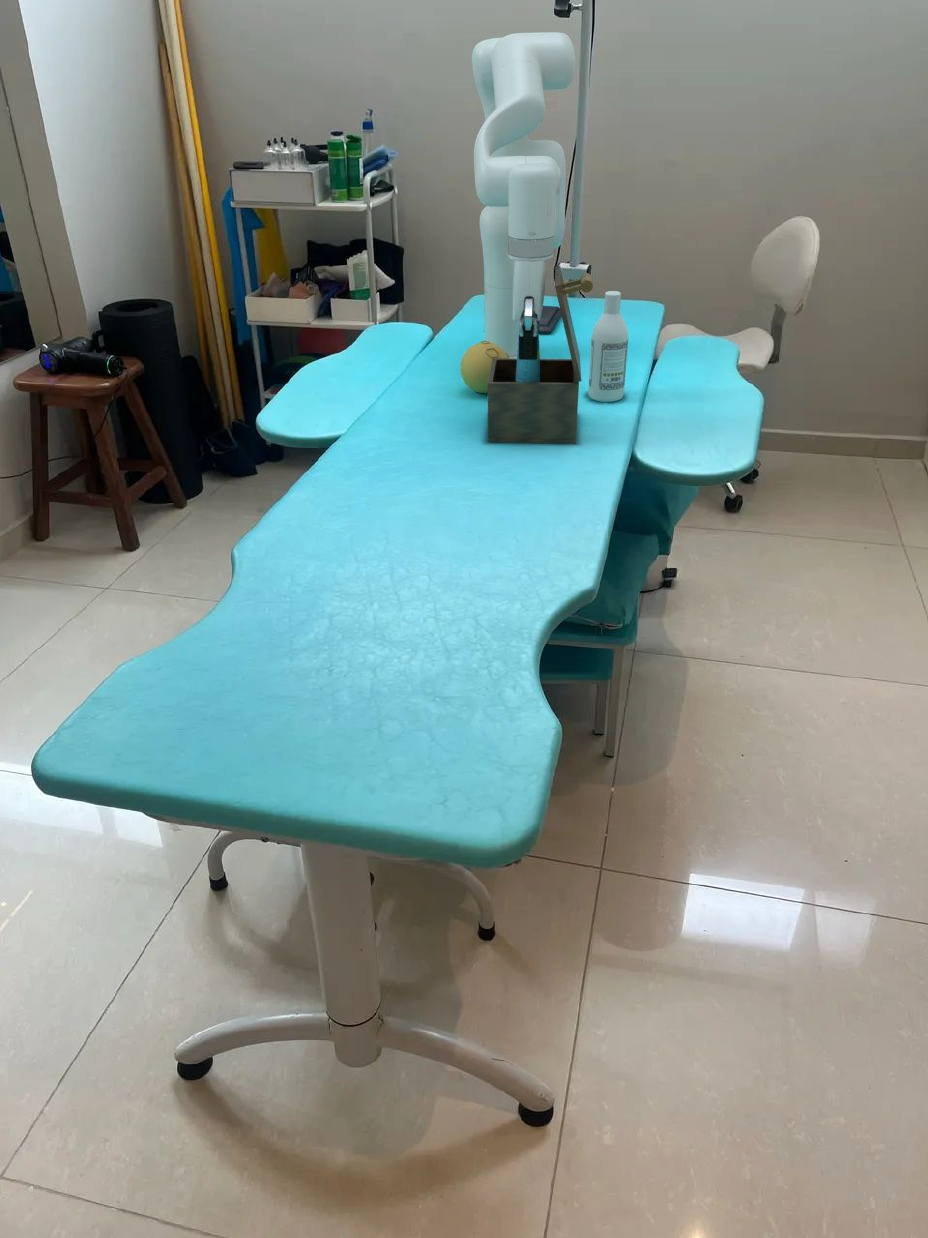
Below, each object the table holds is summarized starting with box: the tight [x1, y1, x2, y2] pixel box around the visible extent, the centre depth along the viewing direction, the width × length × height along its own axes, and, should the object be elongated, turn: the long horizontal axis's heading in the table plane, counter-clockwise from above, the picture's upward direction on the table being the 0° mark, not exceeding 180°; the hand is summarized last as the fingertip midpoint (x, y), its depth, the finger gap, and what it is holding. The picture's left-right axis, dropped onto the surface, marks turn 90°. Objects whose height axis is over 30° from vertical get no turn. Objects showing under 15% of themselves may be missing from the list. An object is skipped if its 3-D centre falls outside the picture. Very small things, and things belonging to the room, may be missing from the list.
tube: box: [516, 317, 541, 383], centre depth 163 cm, size 7×5×19 cm, turn 26°
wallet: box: [539, 305, 562, 335], centre depth 225 cm, size 20×2×15 cm
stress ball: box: [460, 340, 509, 394], centre depth 182 cm, size 10×10×10 cm
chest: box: [487, 358, 580, 445], centre depth 165 cm, size 16×14×11 cm
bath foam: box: [587, 290, 629, 403], centre depth 176 cm, size 7×7×20 cm
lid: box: [554, 264, 594, 383], centre depth 157 cm, size 16×14×6 cm
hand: (528, 350), depth 161 cm, fingers open, 9 cm apart
